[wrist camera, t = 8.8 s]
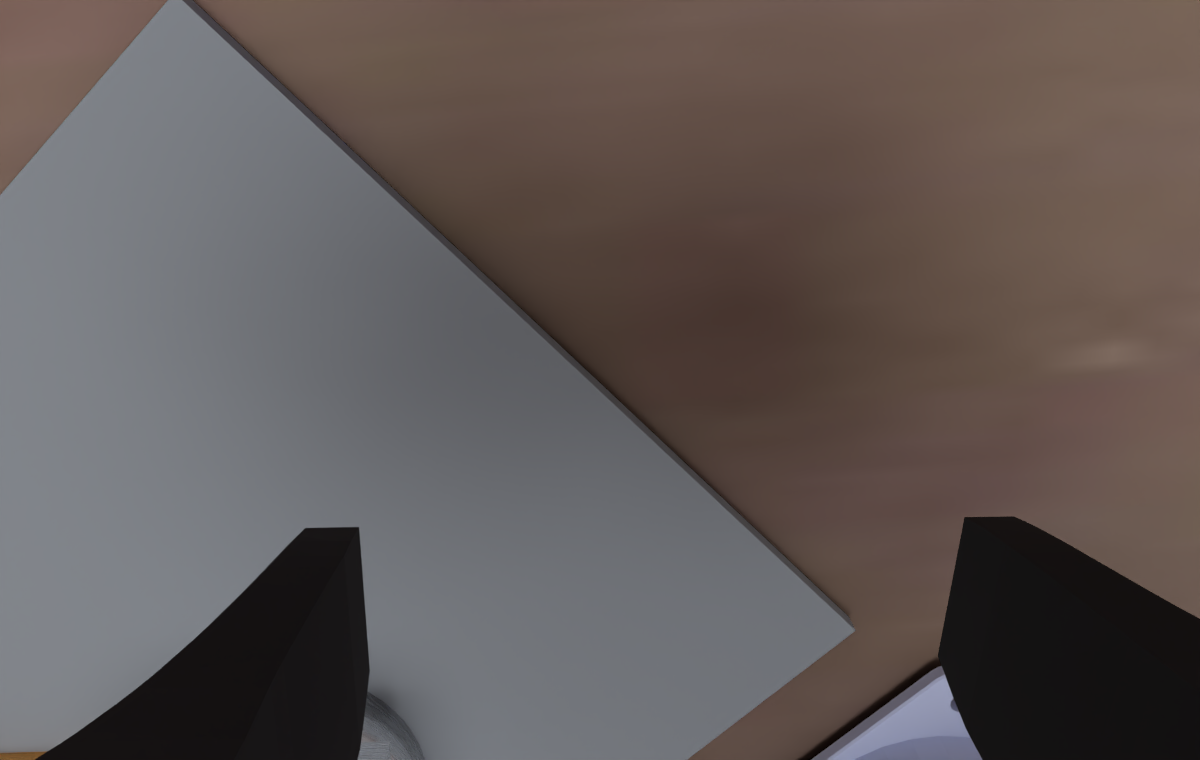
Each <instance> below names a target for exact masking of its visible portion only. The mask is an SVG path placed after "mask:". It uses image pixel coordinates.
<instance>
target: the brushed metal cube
mask: <svg viewBox="0 0 1200 760" xmlns="http://www.w3.org/2000/svg"><path fill="white" fill-rule="evenodd" d="M358 760H391V757H390V742H361V746H360V751H359V756H358Z"/></svg>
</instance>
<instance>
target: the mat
mask: <svg viewBox="0 0 1200 760" xmlns="http://www.w3.org/2000/svg"><path fill="white" fill-rule="evenodd" d="M329 527H359V532H360V545H361V559H362V572H363V586H364V599H365V613H366V626H367V639H368V653H369V666H370V674H369V682H368V691H367V692H369V693H371V694H372V695H374V696H375V697H377V698H379V699H380V700H382V701H383V702H384V703H386V704H387V705H388V706H389V707H390V708H392V709H393V710H394V711H395V712H396V713H397V714H398V715H399V716H400V717H401V718H402V719H403V720H404V721H405V722H406V724H407V725H408V726H409V728H410V729H411V731H412V732H413V733H414V735H415V737H416V739H417V741H418V743H419V745H420V747H421V749H422V752H423V755H424V758H425V760H687V759H689V758H690V757H691V756H692V755H694V754H695V753H696V752H698V751H699V750H700V749H702V748H703V747H704V746H706V745H707V744H708V743H709V742H711V741H712V740H713V739H715V738H716V737H717V736H719V735H720V734H721V733H722V732H724V731H725V730H726V729H728V728H729V727H730V726H732V725H733V724H734V723H736V722H737V721H738V720H739V719H741V718H742V717H743V716H745V715H746V714H747V713H749V712H750V711H751V710H752V709H754V708H755V707H756V706H758V705H759V704H760V703H762V702H763V701H764V700H766V699H767V698H768V697H769V696H771V695H772V694H773V693H775V692H776V691H777V690H779V689H780V688H781V687H783V686H784V685H785V684H786V683H788V682H789V681H790V680H792V679H793V678H794V677H796V676H797V675H798V674H799V673H801V672H802V671H803V670H805V669H806V668H807V667H809V666H810V665H811V664H813V663H814V662H815V661H816V660H818V659H819V658H820V657H822V656H823V655H824V654H826V653H827V652H828V651H829V650H831V649H832V648H833V647H835V646H836V645H837V644H839V643H840V642H841V641H843V640H844V639H845V638H846V637H848V636H849V635H850V634H852V633H853V632H854V631H856V630H855V628H854V626H853V624H852V622H851V620H850V618H849V617H848V616H847V615H846V614H845V613H844V612H843V611H842V610H841V609H840V608H839V607H838V606H837V605H836V604H835V603H833V602H832V601H831V600H830V599H829V598H828V597H827V596H826V595H825V594H824V593H823V592H822V591H821V590H820V589H819V588H818V587H816V586H815V585H814V584H813V583H812V582H811V581H810V580H809V579H808V578H807V577H806V576H805V575H804V574H803V573H802V572H801V571H799V570H798V569H797V568H796V567H795V566H794V565H793V564H792V563H791V562H790V561H789V560H788V559H787V558H786V557H785V556H783V555H782V554H781V553H780V552H779V551H778V550H777V549H776V548H775V547H774V546H773V545H772V544H771V543H770V542H769V541H768V540H766V539H765V538H764V537H763V536H762V535H761V534H760V533H759V532H758V531H757V530H756V529H755V528H754V527H753V526H752V525H750V524H749V523H748V522H747V521H746V520H745V519H744V518H743V517H742V516H741V515H740V514H739V513H738V512H737V511H736V510H735V509H733V508H732V507H731V506H730V505H729V504H728V503H727V502H726V501H725V500H724V499H723V498H722V497H721V496H720V495H719V494H718V493H716V492H715V491H714V490H713V489H712V488H711V487H710V486H709V485H708V484H707V483H706V482H705V481H704V480H703V479H702V478H700V477H699V476H698V475H697V474H696V473H695V472H694V471H693V470H692V469H691V468H690V467H689V466H688V465H687V464H686V463H685V462H683V461H682V460H681V459H680V458H679V457H678V456H677V455H676V454H675V453H674V452H673V451H672V450H671V449H670V448H669V447H667V446H666V445H665V444H664V443H663V442H662V441H661V440H660V439H659V438H658V437H657V436H656V435H655V434H654V433H653V432H652V431H650V430H649V429H648V428H647V427H646V426H645V425H644V424H643V423H642V422H641V421H640V420H639V419H638V418H637V417H636V416H635V415H633V414H632V413H631V412H630V411H629V410H628V409H627V408H626V407H625V406H624V405H623V404H622V403H621V402H620V401H619V400H617V399H616V398H615V397H614V396H613V395H612V394H611V393H610V392H609V391H608V390H607V389H606V388H605V387H604V386H603V385H602V384H600V383H599V382H598V381H597V380H596V379H595V378H594V377H593V376H592V375H591V374H590V373H589V372H588V371H587V370H586V369H584V368H583V367H582V366H581V365H580V364H579V363H578V362H577V361H576V360H575V359H574V358H573V357H572V356H571V355H570V354H569V353H567V352H566V351H565V350H564V349H563V348H562V347H561V346H560V345H559V344H558V343H557V342H556V341H555V340H554V339H553V338H552V337H550V336H549V335H548V334H547V333H546V332H545V331H544V330H543V329H542V328H541V327H540V326H539V325H538V324H537V323H536V322H534V321H533V320H532V319H531V318H530V317H529V316H528V315H527V314H526V313H525V312H524V311H523V310H522V309H521V308H520V307H519V306H517V305H516V304H515V303H514V302H513V301H512V300H511V299H510V298H509V297H508V296H507V295H506V294H505V293H504V292H503V291H501V290H500V289H499V288H498V287H497V286H496V285H495V284H494V283H493V282H492V281H491V280H490V279H489V278H488V277H487V276H486V275H484V274H483V273H482V272H481V271H480V270H479V269H478V268H477V267H476V266H475V265H474V264H473V263H472V262H471V261H470V260H469V259H467V258H466V257H465V256H464V255H463V254H462V253H461V252H460V251H459V250H458V249H457V248H456V247H455V246H454V245H453V244H451V243H450V242H449V241H448V240H447V239H446V238H445V237H444V236H443V235H442V234H441V233H440V232H439V231H438V230H437V229H436V228H434V227H433V226H432V225H431V224H430V223H429V222H428V221H427V220H426V219H425V218H424V217H423V216H422V215H421V214H420V213H418V212H417V211H416V210H415V209H414V208H413V207H412V206H411V205H410V204H409V203H408V202H407V201H406V200H405V199H404V198H403V197H401V196H400V195H399V194H398V193H397V192H396V191H395V190H394V189H393V188H392V187H391V186H390V185H389V184H388V183H387V182H386V181H384V180H383V179H382V178H381V177H380V176H379V175H378V174H377V173H376V172H375V171H374V170H373V169H372V168H371V167H370V166H368V165H367V164H366V163H365V162H364V161H363V160H362V159H361V158H360V157H359V156H358V155H357V154H356V153H355V152H354V151H353V150H351V149H350V148H349V147H348V146H347V145H346V144H345V143H344V142H343V141H342V140H341V139H340V138H339V137H338V136H337V135H335V134H334V133H333V132H332V131H331V130H330V129H329V128H328V127H327V126H326V125H325V124H324V123H323V122H322V121H321V120H320V119H318V118H317V117H316V116H315V115H314V114H313V113H312V112H311V111H310V110H309V109H308V108H307V107H306V106H305V105H304V104H303V103H301V102H300V101H299V100H298V99H297V98H296V97H295V96H294V95H293V94H292V93H291V92H290V91H289V90H288V89H287V88H285V87H284V86H283V85H282V84H281V83H280V82H279V81H278V80H277V79H276V78H275V77H274V76H273V75H272V74H271V73H270V72H268V71H267V70H266V69H265V68H264V67H263V66H262V65H261V64H260V63H259V62H258V61H257V60H256V59H255V58H254V57H252V56H251V55H250V54H249V53H248V52H247V51H246V50H245V49H244V48H243V47H242V46H241V45H240V44H239V43H238V42H237V41H235V40H234V39H233V38H232V37H231V36H230V35H229V34H228V33H227V32H226V31H225V30H224V29H223V28H222V27H221V26H220V25H218V24H217V23H216V22H215V21H214V20H213V19H212V18H211V17H210V16H209V15H208V14H207V13H206V12H205V11H204V10H202V9H201V8H200V7H199V6H198V5H197V4H196V3H195V2H194V1H193V0H168V1H167V2H166V3H165V4H164V6H163V7H162V8H161V9H160V10H159V11H158V13H157V14H156V15H155V16H154V17H153V18H152V20H151V21H150V22H149V23H148V24H147V25H146V27H145V28H144V29H143V30H142V31H141V32H140V33H139V35H138V36H137V37H136V38H135V39H134V40H133V42H132V43H131V44H130V45H129V46H128V47H127V49H126V50H125V51H124V52H123V53H122V54H121V56H120V57H119V58H118V59H117V60H116V61H115V63H114V64H113V65H112V66H111V67H110V68H109V69H108V71H107V72H106V73H105V74H104V75H103V76H102V78H101V79H100V80H99V81H98V82H97V83H96V85H95V86H94V87H93V88H92V89H91V90H90V92H89V93H88V94H87V95H86V96H85V97H84V99H83V100H82V101H81V102H80V103H79V104H78V105H77V107H76V108H75V109H74V110H73V111H72V112H71V114H70V115H69V116H68V117H67V118H66V119H65V121H64V122H63V123H62V124H61V125H60V126H59V128H58V129H57V130H56V131H55V132H54V133H53V135H52V136H51V137H50V138H49V139H48V140H47V141H46V143H45V144H44V145H43V146H42V147H41V148H40V150H39V151H38V152H37V153H36V154H35V155H34V157H33V158H32V159H31V160H30V161H29V162H28V164H27V165H26V166H25V167H24V168H23V169H22V171H21V172H20V173H19V174H18V175H17V176H16V177H15V179H14V180H13V181H12V182H11V183H10V184H9V186H8V187H7V188H6V189H5V190H4V191H3V193H2V194H1V195H0V753H14V752H45V751H49V750H51V749H52V748H54V747H56V746H57V745H59V744H60V743H62V742H63V741H65V740H66V739H68V738H69V737H71V736H72V735H74V734H75V733H77V732H78V731H79V730H81V729H82V728H84V727H85V726H86V725H88V724H89V723H91V722H92V721H93V720H95V719H96V718H97V717H99V716H100V715H102V714H103V713H104V712H106V711H107V710H109V709H110V708H111V707H113V706H114V705H116V704H117V703H118V702H120V701H121V700H122V699H123V698H125V697H126V696H127V695H129V694H130V693H131V692H133V691H134V690H135V689H136V688H138V687H139V686H140V685H141V684H143V683H144V682H145V681H146V680H148V679H149V678H150V677H151V676H153V675H154V674H155V673H156V672H157V671H158V670H160V669H161V668H162V667H163V666H164V665H165V664H166V663H167V662H169V661H170V660H171V659H172V658H173V657H174V656H175V655H177V654H178V653H179V652H180V651H181V650H182V649H183V648H185V647H186V646H187V645H188V644H189V643H190V642H191V641H193V640H194V639H195V638H196V637H197V636H198V635H199V634H200V633H201V632H202V631H203V630H204V629H206V628H207V627H208V626H209V625H210V624H211V623H212V622H213V621H214V620H215V619H216V618H217V617H218V616H219V615H220V614H221V613H222V612H223V611H224V610H225V609H226V608H227V607H228V606H229V605H230V604H231V603H232V602H233V601H234V600H235V599H236V598H237V597H238V596H239V595H240V594H241V593H242V592H243V591H244V590H245V589H246V588H247V587H248V586H249V585H250V584H251V583H252V582H253V581H254V580H255V579H256V578H257V577H258V576H259V575H260V574H261V573H262V572H263V571H264V570H265V569H266V567H267V566H268V565H269V564H270V563H271V562H272V561H273V560H274V559H275V558H276V557H277V556H278V555H279V554H280V553H281V552H282V551H283V550H284V549H285V548H286V546H287V545H288V544H289V543H290V542H291V541H292V540H293V539H294V538H295V537H296V536H297V535H299V534H300V533H301V532H302V531H303V530H304V529H305V528H329Z"/></svg>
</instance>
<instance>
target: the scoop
mask: <svg viewBox="0 0 1200 760" xmlns="http://www.w3.org/2000/svg"><path fill="white" fill-rule="evenodd" d="M361 742H390V757H391V760H425V758H424V755H423V752H422V749H421V747H420V745H419V743H418V741H417V739H416V737H415V735H414V733H413V732H412V731H411V729H410V728H409V726H408V725H407V724H406V722H405V721H404V720H403V719H402V718H401V717H400V716H399V715H398V714H397V713H396V712H395V711H394V710H393V709H392V708H390V707H389V706H388V705H387V704H386V703H384V702H383V701H382V700H380V699H379V698H377V697H375V696H374V695H372V694H371V693H369V692H367V699H366V708H365V716H364V723H363V731H362V738H361ZM46 752H47V751H45V752H14V753H0V760H35V759H36V758H38V757H39V756H41V755H43V754H44V753H46Z"/></svg>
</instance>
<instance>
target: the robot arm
mask: <svg viewBox="0 0 1200 760" xmlns="http://www.w3.org/2000/svg"><path fill="white" fill-rule="evenodd" d="M938 657H939V660H940V663H941V665H942V666H939V667H937V668H935V669H934V670H932V671H930V672H929V673H928V674H926V675H925V676H924V677H922V678H921V679H919V680H918V681H917V682H915V683H914V684H913V685H911V686H910V687H909V688H907V689H906V690H905V691H903V692H902V693H901V694H899V695H898V696H897V697H895V698H894V699H892V700H891V701H890V702H888V703H887V704H886V705H884V706H883V707H882V708H880V709H879V710H878V711H876V712H875V713H874V714H872V715H871V716H869V717H868V718H867V719H865V720H864V721H863V722H861V723H860V724H859V725H857V726H856V727H855V728H853V729H852V730H851V731H849V732H848V733H846V734H845V735H844V736H842V737H841V738H840V739H838V740H837V741H836V742H834V743H833V744H832V745H830V746H829V747H828V748H826V749H825V750H824V751H822V752H821V753H819V754H818V755H817V756H815V757H814V758H813V759H811V760H1200V619H1199V618H1197V617H1195V616H1193V615H1192V614H1190V613H1188V612H1186V611H1184V610H1182V609H1181V608H1179V607H1177V606H1175V605H1173V604H1172V603H1170V602H1168V601H1166V600H1164V599H1163V598H1161V597H1159V596H1157V595H1155V594H1154V593H1152V592H1150V591H1148V590H1147V589H1145V588H1143V587H1141V586H1140V585H1138V584H1136V583H1134V582H1133V581H1131V580H1129V579H1127V578H1126V577H1124V576H1122V575H1121V574H1119V573H1117V572H1115V571H1114V570H1112V569H1110V568H1108V567H1107V566H1105V565H1103V564H1101V563H1100V562H1098V561H1096V560H1095V559H1093V558H1091V557H1089V556H1088V555H1086V554H1084V553H1082V552H1081V551H1079V550H1077V549H1075V548H1074V547H1072V546H1070V545H1068V544H1067V543H1065V542H1063V541H1061V540H1059V539H1058V538H1056V537H1054V536H1052V535H1050V534H1048V533H1047V532H1045V531H1043V530H1041V529H1039V528H1037V527H1035V526H1033V525H1031V524H1029V523H1027V522H1025V521H1022V520H1020V519H1018V518H1016V517H965V518H964V523H963V529H962V534H961V539H960V544H959V549H958V554H957V560H956V565H955V570H954V575H953V580H952V585H951V591H950V596H949V601H948V606H947V611H946V616H945V621H944V627H943V632H942V637H941V642H940V647H939V652H938ZM369 674H370V666H369V653H368V639H367V626H366V613H365V599H364V586H363V572H362V559H361V545H360V532H359V527H329V528H305V529H304V530H303V531H302V532H301V533H300V534H299V535H297V536H296V537H295V538H294V539H293V540H292V541H291V542H290V543H289V544H288V545H287V546H286V548H285V549H284V550H283V551H282V552H281V553H280V554H279V555H278V556H277V557H276V558H275V559H274V560H273V561H272V562H271V563H270V564H269V565H268V566H267V567H266V569H265V570H264V571H263V572H262V573H261V574H260V575H259V576H258V577H257V578H256V579H255V580H254V581H253V582H252V583H251V584H250V585H249V586H248V587H247V588H246V589H245V590H244V591H243V592H242V593H241V594H240V595H239V596H238V597H237V598H236V599H235V600H234V601H233V602H232V603H231V604H230V605H229V606H228V607H227V608H226V609H225V610H224V611H223V612H222V613H221V614H220V615H219V616H218V617H217V618H216V619H215V620H214V621H213V622H212V623H211V624H210V625H209V626H208V627H207V628H206V629H204V630H203V631H202V632H201V633H200V634H199V635H198V636H197V637H196V638H195V639H194V640H193V641H191V642H190V643H189V644H188V645H187V646H186V647H185V648H183V649H182V650H181V651H180V652H179V653H178V654H177V655H175V656H174V657H173V658H172V659H171V660H170V661H169V662H167V663H166V664H165V665H164V666H163V667H162V668H161V669H160V670H158V671H157V672H156V673H155V674H154V675H153V676H151V677H150V678H149V679H148V680H146V681H145V682H144V683H143V684H141V685H140V686H139V687H138V688H136V689H135V690H134V691H133V692H131V693H130V694H129V695H127V696H126V697H125V698H123V699H122V700H121V701H120V702H118V703H117V704H116V705H114V706H113V707H111V708H110V709H109V710H107V711H106V712H104V713H103V714H102V715H100V716H99V717H97V718H96V719H95V720H93V721H92V722H91V723H89V724H88V725H86V726H85V727H84V728H82V729H81V730H79V731H78V732H77V733H75V734H74V735H72V736H71V737H69V738H68V739H66V740H65V741H63V742H62V743H60V744H59V745H57V746H56V747H54V748H52V749H51V750H49V751H47V752H46V753H44V754H43V755H41V756H39V757H38V758H36V759H35V760H358V756H359V751H360V746H361V738H362V731H363V723H364V716H365V708H366V699H367V691H368V682H369ZM953 698H954V700H953Z"/></svg>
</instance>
